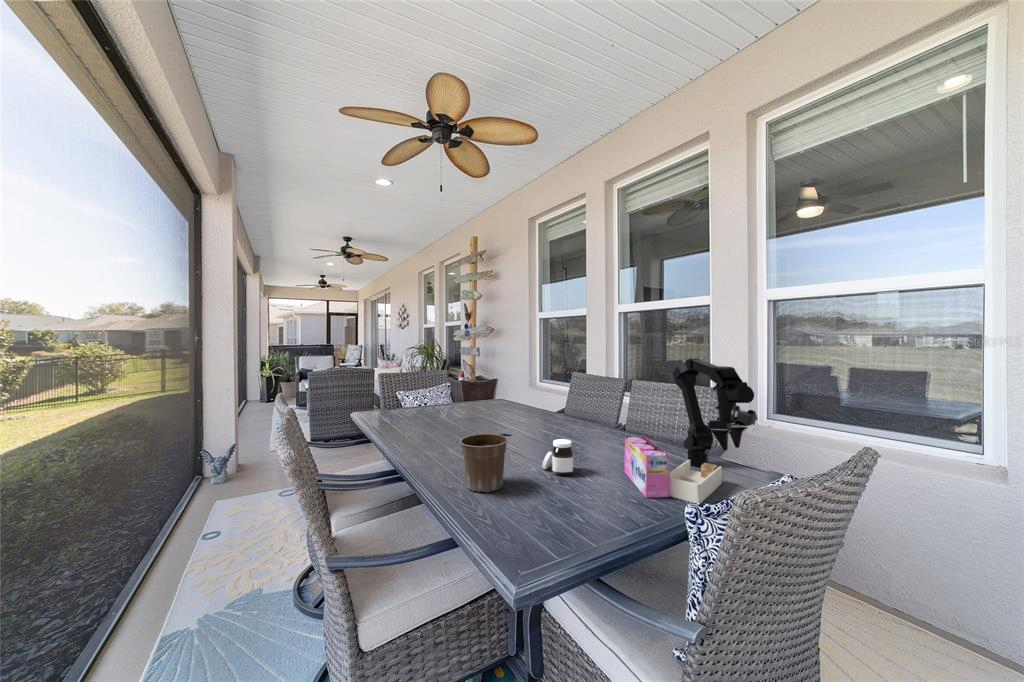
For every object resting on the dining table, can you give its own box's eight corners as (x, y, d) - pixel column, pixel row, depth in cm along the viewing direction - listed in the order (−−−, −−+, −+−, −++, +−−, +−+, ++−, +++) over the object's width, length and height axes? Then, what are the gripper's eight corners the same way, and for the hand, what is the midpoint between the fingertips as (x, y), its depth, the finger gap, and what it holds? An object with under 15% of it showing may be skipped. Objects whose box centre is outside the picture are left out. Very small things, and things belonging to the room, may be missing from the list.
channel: (663, 494, 131) (663, 476, 131) (688, 476, 147) (688, 459, 147) (699, 504, 123) (699, 485, 123) (721, 483, 139) (721, 466, 139)
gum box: (622, 471, 152) (622, 435, 151) (643, 470, 152) (643, 434, 151) (645, 498, 128) (646, 455, 127) (670, 497, 128) (670, 454, 127)
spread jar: (574, 477, 146) (574, 445, 146) (543, 477, 146) (542, 445, 146) (570, 466, 158) (570, 436, 158) (541, 466, 158) (541, 436, 158)
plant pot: (450, 486, 138) (450, 440, 138) (485, 474, 150) (484, 430, 150) (483, 500, 127) (482, 449, 127) (517, 485, 139) (517, 438, 139)
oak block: (700, 477, 139) (701, 465, 139) (704, 473, 142) (704, 462, 142) (713, 479, 136) (713, 468, 136) (717, 476, 139) (717, 465, 139)
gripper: (739, 403, 129) (745, 454, 127) (762, 401, 141) (768, 448, 139) (705, 403, 138) (709, 451, 136) (729, 402, 149) (734, 445, 147)
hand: (731, 449), depth 139 cm, fingers open, 9 cm apart
